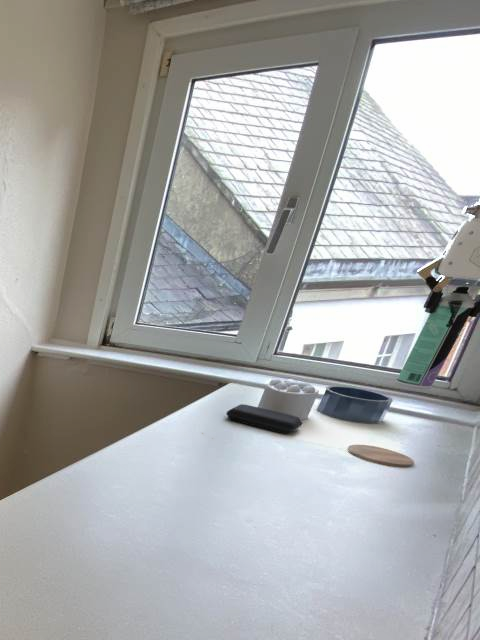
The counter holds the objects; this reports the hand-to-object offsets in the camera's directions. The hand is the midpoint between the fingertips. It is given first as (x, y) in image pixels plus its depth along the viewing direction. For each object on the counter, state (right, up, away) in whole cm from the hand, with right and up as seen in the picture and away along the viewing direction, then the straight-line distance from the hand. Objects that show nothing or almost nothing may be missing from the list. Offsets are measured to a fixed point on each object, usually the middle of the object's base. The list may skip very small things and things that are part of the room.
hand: (450, 313), depth 109 cm
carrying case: (-15, -19, +29) cm, 38 cm away
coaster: (-2, -28, +12) cm, 31 cm away
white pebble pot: (-4, -16, +37) cm, 41 cm away
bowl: (+16, -16, +39) cm, 45 cm away
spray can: (-1, -14, +7) cm, 15 cm away
